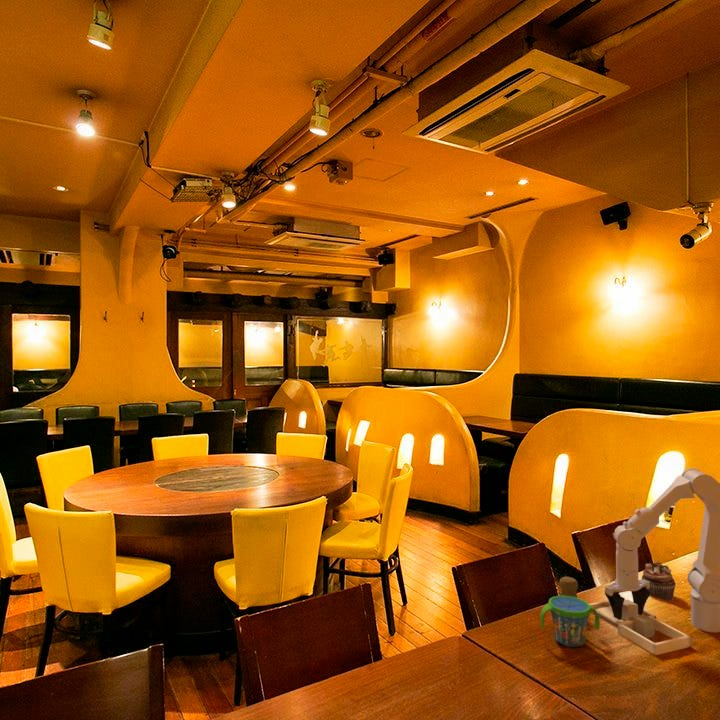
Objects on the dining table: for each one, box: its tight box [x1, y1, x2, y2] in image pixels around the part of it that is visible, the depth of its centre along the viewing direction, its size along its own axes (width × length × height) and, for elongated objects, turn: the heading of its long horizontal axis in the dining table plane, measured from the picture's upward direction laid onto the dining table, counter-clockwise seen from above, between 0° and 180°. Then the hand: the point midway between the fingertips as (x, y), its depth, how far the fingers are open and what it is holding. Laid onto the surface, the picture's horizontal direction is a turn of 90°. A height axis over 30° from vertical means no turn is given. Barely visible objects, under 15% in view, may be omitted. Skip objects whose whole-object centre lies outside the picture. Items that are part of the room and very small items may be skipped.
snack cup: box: [539, 595, 601, 648], centre depth 143 cm, size 16×10×10 cm
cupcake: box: [641, 561, 677, 602], centre depth 170 cm, size 10×10×10 cm
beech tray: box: [588, 599, 657, 629], centre depth 156 cm, size 14×13×2 cm
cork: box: [558, 576, 579, 598], centre depth 157 cm, size 6×6×11 cm
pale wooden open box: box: [617, 616, 692, 656], centre depth 141 cm, size 12×12×4 cm
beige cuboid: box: [622, 599, 638, 621], centre depth 153 cm, size 4×4×4 cm
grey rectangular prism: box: [633, 614, 656, 639], centre depth 144 cm, size 4×4×4 cm
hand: (628, 616), depth 153 cm, fingers open, 7 cm apart
